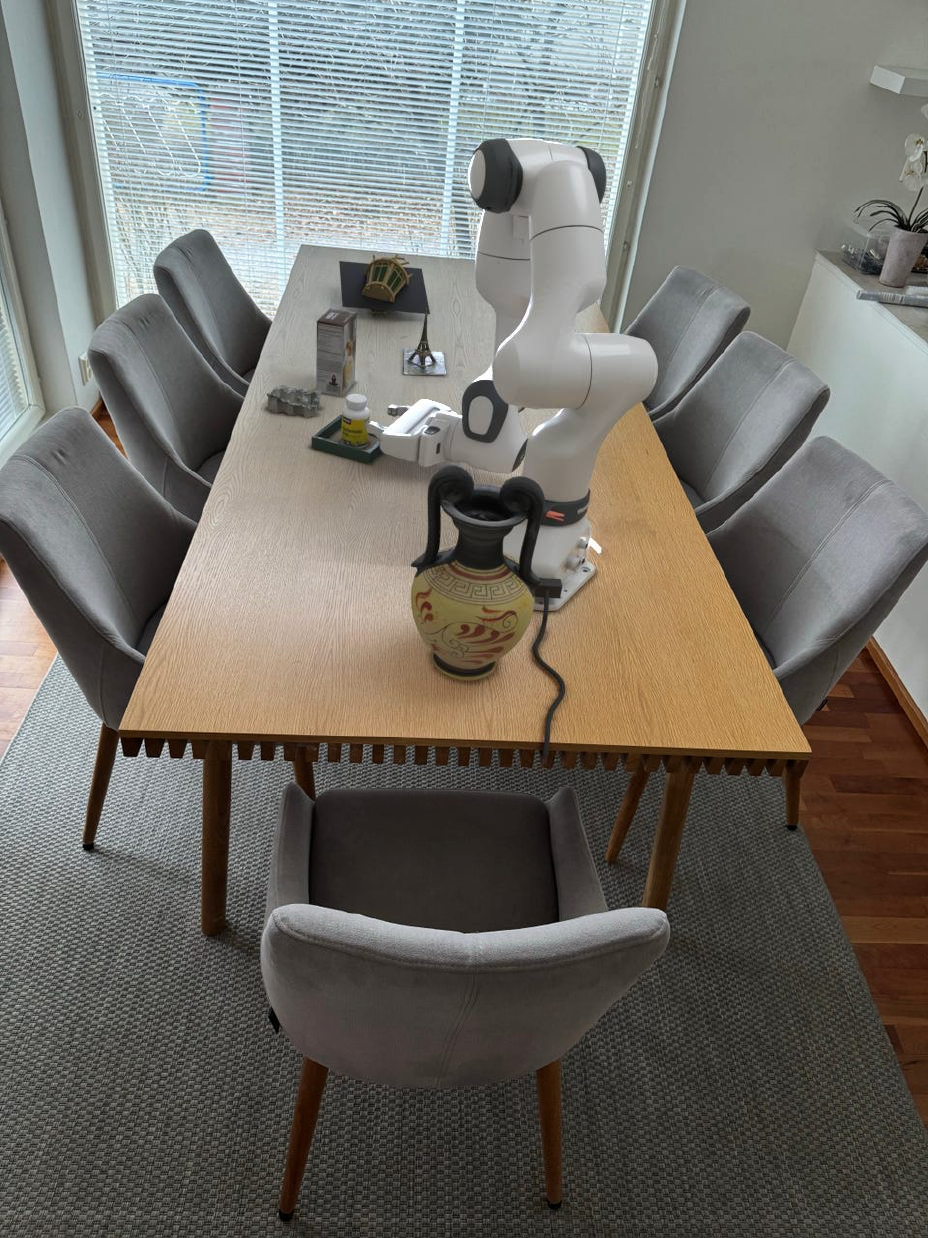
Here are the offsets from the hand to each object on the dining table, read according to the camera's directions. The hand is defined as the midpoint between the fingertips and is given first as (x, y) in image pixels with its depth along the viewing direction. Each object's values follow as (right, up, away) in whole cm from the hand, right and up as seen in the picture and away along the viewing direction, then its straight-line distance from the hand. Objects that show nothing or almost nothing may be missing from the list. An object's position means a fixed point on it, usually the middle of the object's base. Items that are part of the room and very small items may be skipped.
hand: (378, 417), depth 182 cm
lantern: (-6, +48, +76) cm, 90 cm away
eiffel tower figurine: (+7, +22, +44) cm, 49 cm away
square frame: (-5, -4, +5) cm, 8 cm away
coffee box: (-12, +12, +27) cm, 32 cm away
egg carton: (-19, +5, +15) cm, 25 cm away
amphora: (+17, -45, -47) cm, 67 cm away
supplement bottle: (-5, -4, +5) cm, 8 cm away
